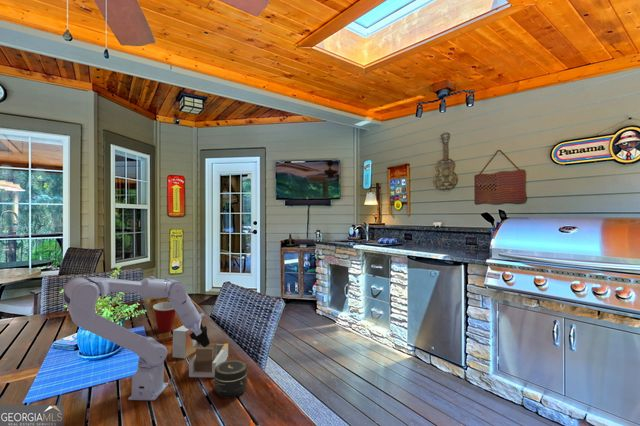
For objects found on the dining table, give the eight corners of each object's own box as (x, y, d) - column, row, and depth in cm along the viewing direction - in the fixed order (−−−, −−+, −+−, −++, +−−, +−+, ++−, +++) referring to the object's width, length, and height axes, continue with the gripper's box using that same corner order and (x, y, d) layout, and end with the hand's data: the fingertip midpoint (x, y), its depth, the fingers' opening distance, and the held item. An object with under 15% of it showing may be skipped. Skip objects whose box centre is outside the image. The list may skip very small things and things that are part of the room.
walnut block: (211, 371, 114) (212, 349, 114) (195, 371, 114) (196, 348, 114) (216, 365, 119) (216, 343, 119) (200, 364, 119) (201, 343, 119)
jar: (230, 403, 98) (231, 377, 98) (206, 393, 102) (207, 369, 102) (253, 388, 106) (253, 364, 106) (230, 379, 111) (230, 357, 111)
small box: (184, 359, 126) (185, 331, 126) (171, 357, 127) (172, 330, 127) (196, 350, 134) (197, 324, 134) (184, 349, 135) (185, 323, 135)
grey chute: (215, 377, 112) (215, 362, 112) (188, 377, 112) (189, 361, 112) (227, 356, 128) (228, 343, 128) (204, 356, 128) (204, 343, 128)
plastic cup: (155, 336, 147) (156, 309, 147) (149, 329, 156) (150, 304, 156) (180, 331, 154) (181, 305, 154) (174, 325, 163) (174, 300, 163)
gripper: (202, 312, 107) (220, 343, 112) (193, 295, 119) (210, 323, 124) (181, 325, 104) (200, 356, 109) (174, 306, 116) (192, 335, 121)
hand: (204, 339), depth 116 cm, fingers open, 7 cm apart
